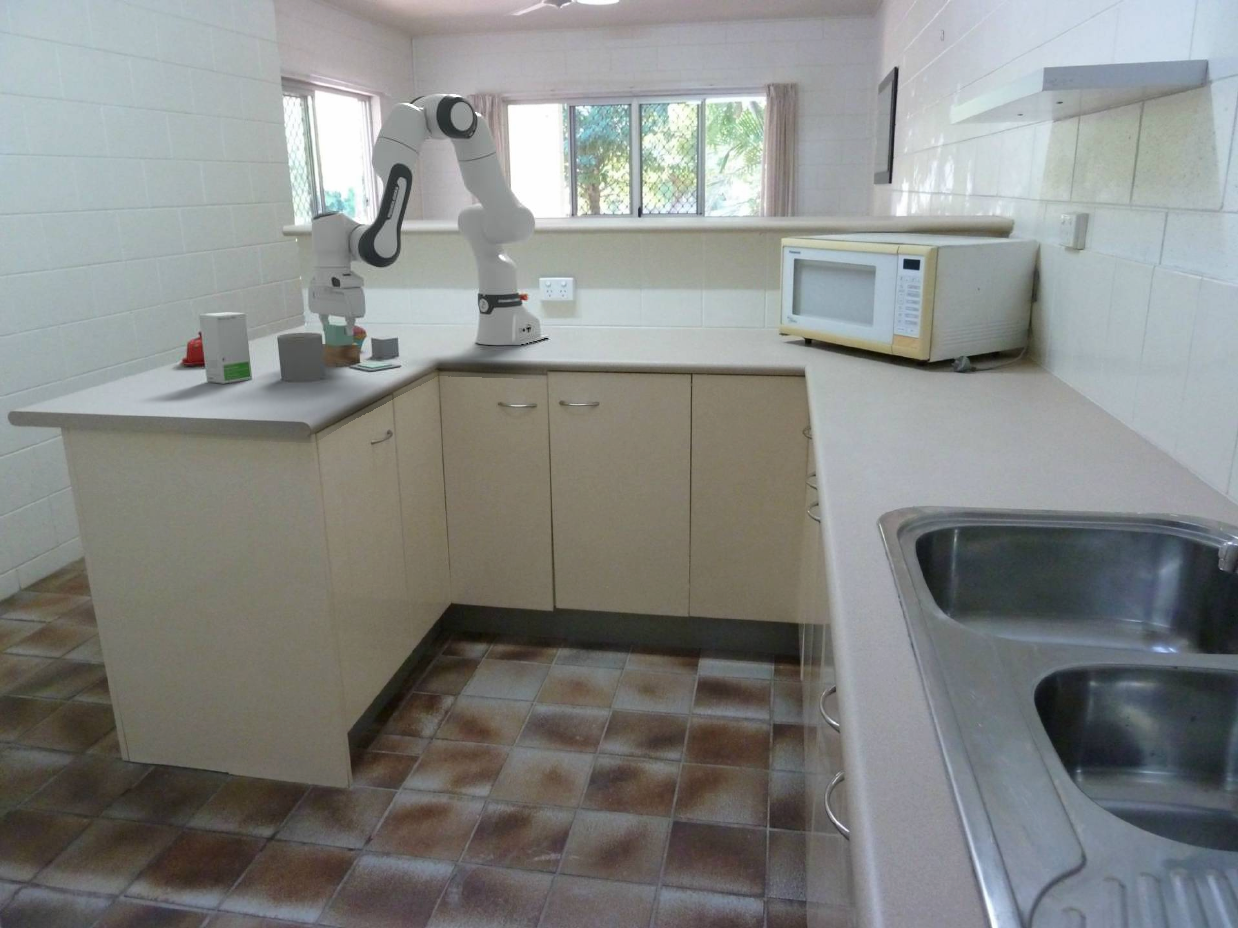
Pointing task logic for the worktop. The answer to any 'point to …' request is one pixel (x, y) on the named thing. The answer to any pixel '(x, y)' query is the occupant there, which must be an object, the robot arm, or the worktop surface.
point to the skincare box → (225, 347)
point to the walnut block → (341, 354)
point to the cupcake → (359, 336)
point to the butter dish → (194, 352)
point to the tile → (375, 366)
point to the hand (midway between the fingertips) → (338, 333)
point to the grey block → (385, 346)
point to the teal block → (337, 335)
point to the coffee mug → (301, 357)
